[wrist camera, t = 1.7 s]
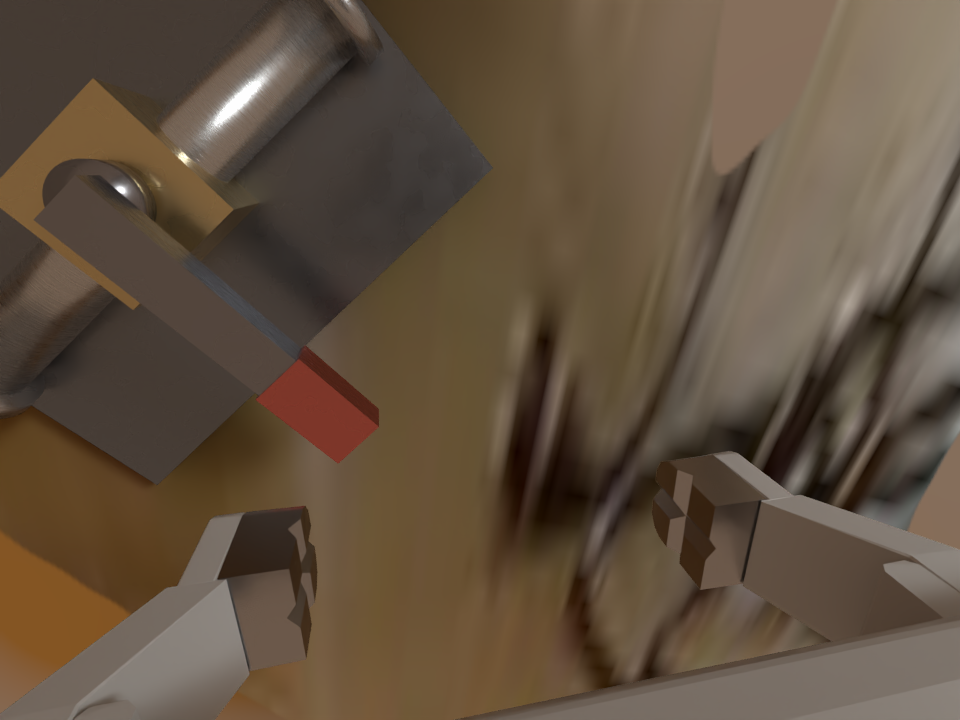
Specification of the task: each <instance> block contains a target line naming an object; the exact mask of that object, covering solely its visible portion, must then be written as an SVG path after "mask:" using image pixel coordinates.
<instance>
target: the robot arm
mask: <svg viewBox="0 0 960 720" xmlns="http://www.w3.org/2000/svg"><path fill="white" fill-rule="evenodd" d="M656 481H657V483H658V484H659V486H660V487H661V490H660V491H659V492H658V493H657V495H656V496H655V497H654V499H653V507H652V516H653V521H654V526H655V529H656V531H657V533H658V535H659V537H660V539H661V540H662V541H663V543H664V544H665V545H666V547H668V548H670V549H672V550H674V551H676V552H678V553H680V565H681V566H682V567H683V568H684V570H685V571H686V572H687V573H688V575H689V576H690V577H691V578H692V580H693V581H694V582H695V584H696V585H697V586H698V587H699V589H700V590H702V589H709V588H716V587H722V586H729V585H736V584H743V586H744V587H745V588H747V589H749V590H750V591H752V592H754V593H755V594H757V595H758V596H760V597H762V598H763V599H765V600H766V601H768V602H770V603H771V604H773V605H774V606H776V607H778V608H779V609H781V610H782V611H784V612H786V613H787V614H789V615H790V616H792V617H794V618H795V619H797V620H799V621H800V622H802V623H803V624H805V625H807V626H808V627H810V628H811V629H813V630H815V631H816V632H818V633H819V634H821V635H823V636H824V637H826V638H827V639H829V640H831V641H832V642H827V643H822V644H817V645H812V646H808V647H803V648H798V649H793V650H788V651H783V652H778V653H774V654H769V655H764V656H759V657H754V658H749V659H744V660H740V661H735V662H730V663H725V664H720V665H715V666H710V667H706V668H701V669H696V670H691V671H686V672H681V673H677V674H672V675H667V676H662V677H657V678H652V679H648V680H643V681H638V682H633V683H628V684H624V685H619V686H614V687H609V688H604V689H600V690H595V691H590V692H585V693H580V694H575V695H571V696H566V697H561V698H556V699H551V700H547V701H542V702H537V703H532V704H527V705H523V706H518V707H513V708H508V709H503V710H498V711H494V712H489V713H484V714H479V715H474V716H470V717H465V718H460V719H455V720H960V550H959V549H956V548H954V547H950V546H948V545H945V544H942V543H939V542H936V541H933V540H930V539H927V538H924V537H921V536H918V535H916V534H913V533H910V532H907V531H904V530H901V529H898V528H895V527H892V526H889V525H887V524H884V523H881V522H878V521H875V520H872V519H869V518H866V517H863V516H860V515H857V514H854V513H852V512H849V511H846V510H843V509H840V508H837V507H834V506H831V505H828V504H825V503H822V502H820V501H817V500H814V499H811V498H808V497H805V496H802V495H798V496H793V495H792V494H790V493H789V492H788V491H786V490H785V489H784V488H782V487H781V486H780V485H779V484H777V483H776V482H775V481H773V480H772V479H771V478H769V477H768V476H767V475H765V474H764V473H763V472H761V471H760V470H759V469H758V468H756V467H755V466H754V465H752V464H751V463H750V462H748V461H747V460H746V459H744V458H743V457H742V456H741V455H739V454H738V453H735V452H731V451H728V452H721V453H715V454H709V455H707V456H699V457H692V458H685V459H678V460H671V461H664V462H661V463H660V465H659V467H658V468H657V474H656ZM310 528H311V523H310V518H309V513H308V510H307V508H306V506H300V507H291V508H281V509H272V510H262V511H253V512H246V513H235V514H227V515H219V516H215V517H213V518H212V519H210V521H209V522H208V524H207V526H206V528H205V530H204V532H203V534H202V536H201V538H200V540H199V542H198V544H197V546H196V548H195V550H194V552H193V554H192V556H191V559H190V561H189V563H188V565H187V567H186V569H185V571H184V573H183V575H182V577H181V579H180V581H179V583H178V585H177V586H175V587H169V588H166V589H164V590H163V591H162V592H160V593H159V594H158V595H157V596H155V597H154V598H153V599H151V600H150V601H149V602H147V603H146V604H145V605H143V606H142V607H141V608H139V609H138V610H137V611H135V612H134V613H133V614H131V615H130V616H129V617H127V618H126V619H125V620H123V621H122V622H121V623H119V624H118V625H117V626H116V627H114V628H113V629H112V630H110V631H109V632H108V633H106V634H105V635H104V636H102V637H101V638H100V639H98V640H97V641H96V642H94V643H93V644H92V645H90V646H89V647H88V648H86V649H85V650H84V651H82V652H81V653H80V654H78V655H77V656H76V657H75V658H73V659H72V660H71V661H69V662H68V663H67V664H65V665H64V666H63V667H61V668H60V669H59V670H57V671H56V672H55V673H53V674H52V675H51V676H49V677H48V678H47V679H45V680H44V681H43V682H41V683H40V684H39V685H37V686H36V687H35V688H33V689H32V690H31V691H29V692H28V693H27V694H25V695H24V696H23V697H22V698H20V699H19V700H18V701H16V702H15V703H14V704H12V705H11V706H10V707H8V708H7V709H6V710H4V711H3V712H2V713H0V720H215V719H216V718H217V716H218V715H219V714H220V712H221V711H222V710H223V709H224V707H225V706H226V704H227V703H228V702H229V701H230V699H231V698H232V697H233V695H234V694H235V693H236V692H237V690H238V689H239V688H240V686H241V685H242V684H243V682H244V681H245V680H246V679H247V677H248V676H249V675H250V674H249V671H252V670H257V669H262V668H267V667H272V666H277V665H281V664H286V663H291V662H296V661H301V660H306V657H307V651H308V644H309V638H310V632H311V625H312V623H311V617H310V611H309V608H310V607H311V606H312V605H313V604H314V603H315V597H316V590H317V563H316V554H315V547H314V546H313V545H312V544H311V543H310V542H309V541H308V540H309V534H310Z"/></svg>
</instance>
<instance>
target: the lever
mask: <svg viewBox="0 0 960 720" xmlns="http://www.w3.org/2000/svg"><path fill="white" fill-rule="evenodd" d="M42 198H43V204H44V207H45V208H44V209H43V210H42V211H41V212H40V213H39V214H38V215H37V216H36V218H35V219H34V221H35V222H37V223H38V224H39V225H41V226H42V227H43V228H44V229H46V230H47V231H48V232H50V233H51V234H52V235H53V236H55V237H56V238H57V239H58V240H60V241H61V242H62V243H64V244H65V245H66V246H67V247H69V248H70V249H71V250H73V251H74V252H75V253H76V254H78V255H79V256H80V257H82V258H83V259H84V260H85V261H87V262H88V263H89V264H91V265H92V266H93V267H94V268H96V269H97V270H98V271H100V272H101V273H102V274H103V275H105V276H106V277H107V278H109V279H110V280H111V281H112V282H114V283H115V284H116V285H117V286H119V287H120V288H121V289H123V290H124V291H125V292H126V293H128V294H129V295H130V296H132V297H133V298H134V299H135V300H137V301H138V302H139V303H141V304H142V305H143V306H144V307H146V308H147V309H148V310H150V311H151V312H152V313H153V314H155V315H156V316H157V317H159V318H160V319H161V320H162V321H164V322H165V323H166V324H168V325H169V326H170V327H171V328H173V329H174V330H175V331H176V332H178V333H179V334H180V335H182V336H183V337H184V338H185V339H187V340H188V341H189V342H191V343H192V344H193V345H194V346H196V347H197V348H198V349H200V350H201V351H202V352H203V353H205V354H206V355H207V356H209V357H210V358H211V359H212V360H214V361H215V362H216V363H218V364H219V365H220V366H221V367H223V368H224V369H225V370H227V371H228V372H229V373H230V374H232V375H233V376H234V377H235V378H237V379H238V380H239V381H241V382H242V383H243V384H244V385H246V386H247V387H248V388H250V389H251V390H252V391H253V392H255V393H256V394H257V395H258V397H257V398H256V400H257V401H258V402H259V403H260V404H262V405H263V406H264V407H266V408H267V409H268V410H270V411H271V412H272V413H273V414H275V415H276V416H277V417H279V418H280V419H281V420H282V421H284V422H285V423H286V424H288V425H289V426H290V427H292V428H293V429H294V430H295V431H297V432H298V433H299V434H301V435H302V436H303V437H304V438H306V439H307V440H308V441H310V442H311V443H312V444H313V445H315V446H316V447H317V448H319V449H320V450H321V451H323V452H324V453H325V454H326V455H328V456H329V457H330V458H332V459H333V460H334V461H335V462H337V463H339V462H340V461H341V460H343V459H344V458H345V457H346V456H347V455H348V454H349V453H350V452H351V451H353V450H354V449H355V448H356V447H357V446H358V445H359V444H360V443H361V442H362V441H364V440H365V439H366V438H367V437H368V436H369V435H370V434H371V433H372V432H374V431H375V430H376V429H377V428H378V427H379V409H378V408H377V407H376V406H375V405H374V404H372V403H371V402H370V401H369V400H368V399H367V398H365V397H364V396H363V395H362V394H361V393H360V392H359V391H357V390H356V389H355V388H354V387H353V386H352V385H350V384H349V383H348V382H347V381H346V380H345V379H344V378H342V377H341V376H340V375H339V374H338V373H337V372H335V371H334V370H333V369H332V368H331V367H330V366H328V365H327V364H326V363H325V362H324V361H323V360H322V359H320V358H319V357H318V356H317V355H316V354H315V353H313V352H312V351H311V350H310V349H309V348H308V347H307V346H305V345H304V346H303V347H302V348H301V347H299V346H298V345H297V344H296V343H295V342H294V341H292V340H291V339H290V338H289V337H288V336H287V335H285V334H284V333H283V332H282V331H281V330H280V329H278V328H277V327H276V326H275V325H274V324H273V323H271V322H270V321H269V320H268V319H267V318H266V317H264V316H263V315H262V314H261V313H260V312H259V311H258V310H256V309H255V308H254V307H253V306H252V305H251V304H249V303H248V302H247V301H246V300H245V299H244V298H242V297H241V296H240V295H239V294H238V293H237V292H235V291H234V290H233V289H232V288H231V287H230V286H228V285H227V284H226V283H225V282H224V281H223V280H221V279H220V278H219V277H218V276H217V275H216V274H214V273H213V272H212V271H211V270H210V269H209V268H207V267H206V266H205V265H204V264H203V263H202V262H200V261H199V260H198V259H197V258H196V257H195V256H193V255H192V254H191V253H190V252H189V251H188V250H186V249H185V248H184V247H183V246H182V245H181V244H180V243H178V242H177V241H176V240H175V239H174V238H173V237H171V236H170V235H169V234H168V233H167V232H166V231H164V230H163V229H162V228H161V227H160V226H159V225H157V224H156V223H155V220H156V215H157V208H156V202H155V198H154V196H153V193H152V191H151V189H150V188H149V186H148V185H147V183H146V182H145V181H144V180H143V179H142V178H141V177H140V176H139V175H138V174H137V173H136V172H135V171H133V170H132V169H130V168H129V167H127V166H125V165H123V164H120V163H118V162H114V161H110V160H103V159H79V158H78V159H71V160H67V161H64V162H62V163H60V164H58V165H57V166H55V167H54V168H53V169H52V170H51V171H50V172H49V173H48V175H47V177H46V179H45V181H44V184H43V189H42Z"/></svg>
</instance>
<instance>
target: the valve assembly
mask: <svg viewBox="0 0 960 720" xmlns="http://www.w3.org/2000/svg"><path fill="white" fill-rule="evenodd" d="M78 158H79V159H103V160H110V161H114V162H118V163H120V164H123V165H125V166H127V167H129V168H130V169H132V170H133V171H135V172H136V173H137V174H138V175H139V176H140V177H141V178H142V179H143V180H144V181H145V182H146V183H147V185H148V186H149V188H150V189H151V191H152V193H153V196H154V198H155V202H156V208H157V215H156V220H155V223H156V224H157V225H159V226H160V227H161V228H162V229H163V230H164V231H166V232H167V233H168V234H169V235H170V236H171V237H173V238H174V239H175V240H176V241H177V242H178V243H180V244H181V245H182V246H183V247H184V248H185V249H186V250H188V251H189V252H190V253H191V254H192V255H193V256H195V257H196V258H197V259H198V260H199V261H200V262H202V263H203V264H204V265H205V266H206V267H207V268H209V269H210V270H211V271H212V272H213V273H214V274H216V275H217V276H218V277H219V278H220V279H221V280H223V281H224V282H225V283H226V284H227V285H228V286H230V287H231V288H232V289H233V290H234V291H235V292H237V293H238V294H239V295H240V296H241V297H242V298H244V299H245V300H246V301H247V302H248V303H249V304H251V305H252V306H253V307H254V308H255V309H256V310H258V311H259V312H260V313H261V314H262V315H263V316H264V317H266V318H267V319H268V320H269V321H270V322H271V323H273V324H274V325H275V326H276V327H277V328H278V329H280V330H281V331H282V332H283V333H284V334H285V335H287V336H288V337H289V338H290V339H291V340H292V341H294V342H295V343H296V344H297V345H298V346H299V347H301V348H302V347H303V346H304V345H306V344H307V343H308V342H309V341H310V340H311V339H312V338H313V337H314V336H315V335H317V334H318V333H319V332H320V331H321V330H322V329H323V328H324V327H325V326H326V325H327V324H328V323H329V322H330V321H331V320H332V319H333V318H335V317H336V316H337V315H338V314H339V313H340V312H341V311H342V310H343V309H344V308H345V307H346V306H347V305H348V304H349V303H350V302H351V301H353V300H354V299H355V298H356V297H357V296H358V295H359V294H360V293H361V292H362V291H363V290H364V289H365V288H366V287H367V286H368V285H369V284H371V283H372V282H373V281H374V280H375V279H376V278H377V277H378V276H379V275H380V274H381V273H382V272H383V271H384V270H385V269H386V268H387V267H389V266H390V265H391V264H392V263H393V262H394V261H395V260H396V259H397V258H398V257H399V256H400V255H401V254H402V253H403V252H404V251H405V250H407V249H408V248H409V247H410V246H411V245H412V244H413V243H414V242H415V241H416V240H417V239H418V238H419V237H420V236H421V235H422V234H423V233H424V232H426V231H427V230H428V229H429V228H430V227H431V226H432V225H433V224H434V223H435V222H436V221H437V220H438V219H439V218H440V217H441V216H442V215H444V214H445V213H446V212H447V211H448V210H449V209H450V208H451V207H452V206H453V205H454V204H455V203H456V202H457V201H458V200H459V199H460V198H462V197H463V196H464V195H465V194H466V193H467V192H468V191H469V190H470V189H471V188H472V187H473V186H474V185H475V184H476V183H477V182H478V181H480V180H481V179H482V178H483V177H484V176H485V175H486V174H487V173H488V172H489V171H490V170H491V169H492V168H493V167H492V166H491V165H490V164H489V162H488V161H487V160H486V159H485V157H484V156H483V155H482V153H481V152H480V151H479V150H478V148H477V147H476V146H475V144H474V143H473V142H472V141H471V139H470V138H469V137H468V136H467V134H466V133H465V132H464V130H463V129H462V128H461V127H460V125H459V124H458V123H457V122H456V120H455V119H454V118H453V116H452V115H451V114H450V113H449V111H448V110H447V109H446V107H445V106H444V105H443V104H442V102H441V101H440V100H439V99H438V97H437V96H436V95H435V93H434V92H433V91H432V90H431V88H430V87H429V86H428V84H427V83H426V82H425V81H424V79H423V78H422V77H421V76H420V74H419V73H418V72H417V70H416V69H415V68H414V67H413V65H412V64H411V63H410V62H409V60H408V59H407V58H406V56H405V55H404V54H403V53H402V51H401V50H400V49H399V47H398V46H397V45H396V44H395V42H394V41H393V40H392V39H391V37H390V36H389V35H388V33H387V32H386V31H385V30H384V28H383V27H382V26H381V25H380V23H379V22H378V21H377V19H376V18H375V17H374V16H373V14H372V13H371V12H370V10H369V9H368V8H367V7H366V5H365V4H364V3H363V2H362V0H0V419H3V418H9V417H14V416H16V415H19V414H21V413H23V412H25V411H26V410H27V409H28V408H29V407H30V406H31V405H32V406H33V407H35V408H36V409H38V410H40V411H41V412H43V413H44V414H46V415H47V416H49V417H51V418H52V419H54V420H55V421H57V422H59V423H60V424H62V425H63V426H65V427H66V428H68V429H70V430H71V431H73V432H74V433H76V434H77V435H79V436H81V437H82V438H84V439H85V440H87V441H88V442H90V443H92V444H93V445H95V446H96V447H98V448H99V449H101V450H103V451H104V452H106V453H107V454H109V455H111V456H112V457H114V458H115V459H117V460H118V461H120V462H122V463H123V464H125V465H126V466H128V467H129V468H131V469H133V470H134V471H136V472H137V473H139V474H140V475H142V476H144V477H145V478H147V479H148V480H150V481H152V482H153V483H155V484H156V485H158V484H159V483H160V482H161V481H162V480H163V479H164V478H165V477H166V476H167V475H168V474H169V473H170V472H172V471H173V470H174V469H175V468H176V467H177V466H178V465H179V464H180V463H181V462H182V461H183V460H184V459H185V458H186V457H187V456H188V455H190V454H191V453H192V452H193V451H194V450H195V449H196V448H197V447H198V446H199V445H200V444H201V443H202V442H203V441H204V440H205V439H206V438H208V437H209V436H210V435H211V434H212V433H213V432H214V431H215V430H216V429H217V428H218V427H219V426H220V425H221V424H222V423H223V422H224V421H226V420H227V419H228V418H229V417H230V416H231V415H232V414H233V413H234V412H235V411H236V410H237V409H238V408H239V407H240V406H241V405H242V404H244V403H245V402H246V401H247V400H248V399H249V398H250V397H251V396H252V395H253V394H254V393H255V392H253V391H252V390H251V389H250V388H248V387H247V386H246V385H244V384H243V383H242V382H241V381H239V380H238V379H237V378H235V377H234V376H233V375H232V374H230V373H229V372H228V371H227V370H225V369H224V368H223V367H221V366H220V365H219V364H218V363H216V362H215V361H214V360H212V359H211V358H210V357H209V356H207V355H206V354H205V353H203V352H202V351H201V350H200V349H198V348H197V347H196V346H194V345H193V344H192V343H191V342H189V341H188V340H187V339H185V338H184V337H183V336H182V335H180V334H179V333H178V332H176V331H175V330H174V329H173V328H171V327H170V326H169V325H168V324H166V323H165V322H164V321H162V320H161V319H160V318H159V317H157V316H156V315H155V314H153V313H152V312H151V311H150V310H148V309H147V308H146V307H144V306H143V305H142V304H141V303H139V302H138V301H137V300H135V299H134V298H133V297H132V296H130V295H129V294H128V293H126V292H125V291H124V290H123V289H121V288H120V287H119V286H117V285H116V284H115V283H114V282H112V281H111V280H110V279H109V278H107V277H106V276H105V275H103V274H102V273H101V272H100V271H98V270H97V269H96V268H94V267H93V266H92V265H91V264H89V263H88V262H87V261H85V260H84V259H83V258H82V257H80V256H79V255H78V254H76V253H75V252H74V251H73V250H71V249H70V248H69V247H67V246H66V245H65V244H64V243H62V242H61V241H60V240H58V239H57V238H56V237H55V236H53V235H52V234H51V233H50V232H48V231H47V230H46V229H44V228H43V227H42V226H41V225H39V224H38V223H37V222H35V221H34V219H35V218H36V216H37V215H38V214H39V213H40V212H41V211H42V210H43V209H44V208H45V207H44V204H43V198H42V189H43V184H44V181H45V179H46V177H47V175H48V173H49V172H50V171H51V170H52V169H53V168H54V167H55V166H57V165H58V164H60V163H62V162H64V161H67V160H71V159H78Z"/></svg>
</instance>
